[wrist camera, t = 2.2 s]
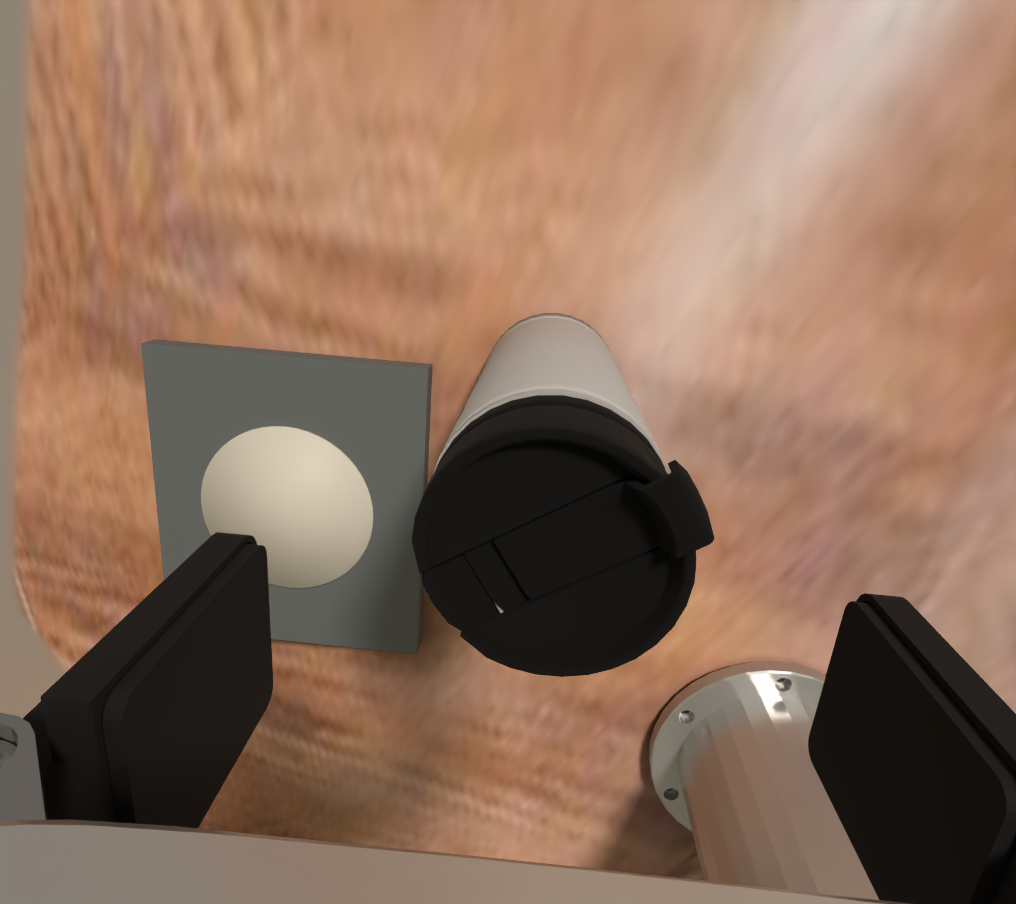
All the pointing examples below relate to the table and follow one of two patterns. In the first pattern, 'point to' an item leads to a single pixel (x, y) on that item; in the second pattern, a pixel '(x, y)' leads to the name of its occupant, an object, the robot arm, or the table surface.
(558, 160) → the table surface
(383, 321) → the table surface
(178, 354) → the mat
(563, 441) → the travel mug
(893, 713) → the robot arm
